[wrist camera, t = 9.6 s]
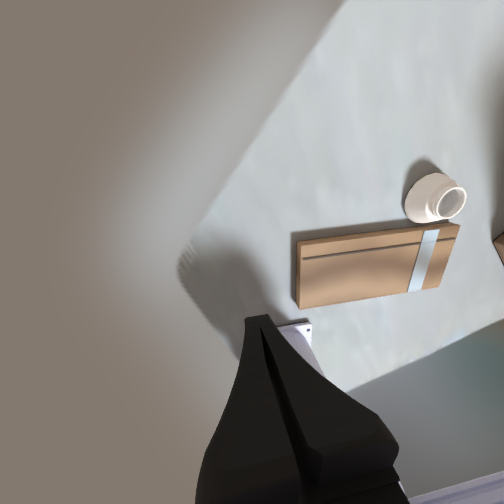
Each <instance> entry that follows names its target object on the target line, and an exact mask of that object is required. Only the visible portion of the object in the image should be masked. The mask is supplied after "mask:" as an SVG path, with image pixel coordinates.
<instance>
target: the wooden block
mask: <svg viewBox="0 0 504 504" xmlns="http://www.w3.org/2000/svg"><path fill="white" fill-rule="evenodd" d="M494 245H495V247H496V249H497V251H498V253H499V255H500V257H501V259H502V261H503V264H504V233H503V234H502V235H501V236H500V237H498V238H497V239H496V240H495V241H494Z"/></svg>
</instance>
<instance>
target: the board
mask: <svg viewBox="0 0 504 504" xmlns="http://www.w3.org/2000/svg"><path fill="white" fill-rule="evenodd" d="M459 228H460V225H458V224H454V223H450V222H448V223H440V224H432V225H424V226H416V227H408V228H400V229H392V230H385V231H377V232H369V233H361V234H353V235H345V236H337V237H330V238H322V239H314V240H306V241H298V242H297V270H296V305H297V306H298V308H299V310H302V309H308V308H314V307H320V306H326V305H332V304H339V303H345V302H351V301H357V300H363V299H369V298H375V297H381V296H387V295H393V294H399V293H406V292H412V291H418V290H424V289H430V288H436V287H439V285H440V282H441V279H442V276H443V273H444V270H445V268H446V265H447V262H448V259H449V256H450V253H451V251H452V248H453V245H454V242H455V239H456V236H457V234H458V231H459Z"/></svg>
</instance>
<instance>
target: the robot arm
mask: <svg viewBox="0 0 504 504" xmlns="http://www.w3.org/2000/svg"><path fill="white" fill-rule="evenodd" d="M244 321H245V335H244V343H243V349H242V354H241V359H240V363H239V367H238V372H237V375H236V378H235V381H234V385H233V388H232V391H231V394H230V396H229V399H228V402H227V405H226V407H225V409H224V412H223V414H222V417H221V419H220V421H219V424H218V426H217V428H216V431H215V433H214V435H213V437H212V439H211V441H210V443H209V445H208V447H207V449H206V451H205V454H204V458H203V462H202V466H201V469H200V474H199V478H198V483H197V489H196V498H195V504H504V471H501V472H498V473H495V474H491V475H487V476H484V477H481V478H477V479H474V480H470V481H467V482H463V483H460V484H457V485H454V486H450V487H447V488H443V489H440V490H436V491H433V492H429V493H426V494H423V495H419V496H416V497H412V498H409V499H407V497H406V495H405V492H404V490H403V487H402V485H401V483H400V479H399V476H398V474H397V473H396V471H395V469H394V467H393V463H394V461H395V459H396V457H397V455H398V451H399V446H398V443H397V442H396V440H395V438H394V437H393V435H392V434H391V432H390V431H389V429H388V428H387V427H386V425H385V424H384V423H383V421H382V420H381V419H380V417H379V416H378V415H377V414H376V413H374V412H372V411H371V410H369V409H368V408H366V407H365V406H363V405H362V404H360V403H358V402H357V401H356V400H354V399H352V398H351V397H350V396H348V395H347V394H346V393H344V392H343V391H341V390H340V389H339V388H338V387H336V386H335V385H334V384H332V383H331V382H330V381H329V380H327V379H326V378H325V376H324V374H323V372H322V370H321V368H320V366H319V364H318V362H317V360H316V358H315V356H314V354H313V352H312V350H311V339H312V324H311V323H310V322H305V323H299V324H293V325H288V326H282V327H276V326H275V324H274V323H273V321H272V320H271V318H270V316H269V315H268V314H265V315H259V316H253V317H247V318H245V319H244Z"/></svg>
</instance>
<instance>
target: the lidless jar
mask: <svg viewBox="0 0 504 504" xmlns="http://www.w3.org/2000/svg"><path fill="white" fill-rule="evenodd" d="M465 201H466V191H465V190H464V189H463V188H462V187H460V186H459V185H458V184H457V183H456V182H455V181H454V180H452V179H451V178H450V177H449V176H447V175H445V174H440V173H433V174H429V175H426V176H424V177H423V178H421V179H420V180H418V181H417V182H416V183H415V184H414V186H413V187H412V188H411V189H410V191H409V193H408V195H407V198H406V200H405V212H406V215H407V217H408V218H409V219H410V220H412V221H413V222H417V223H428V222H433V221H438V220H442V219H449V218H451V217H453V216H455V215H456V214H457V213H458V212H459V211H460V210H461V209H462V208H463V206H464V204H465Z"/></svg>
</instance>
